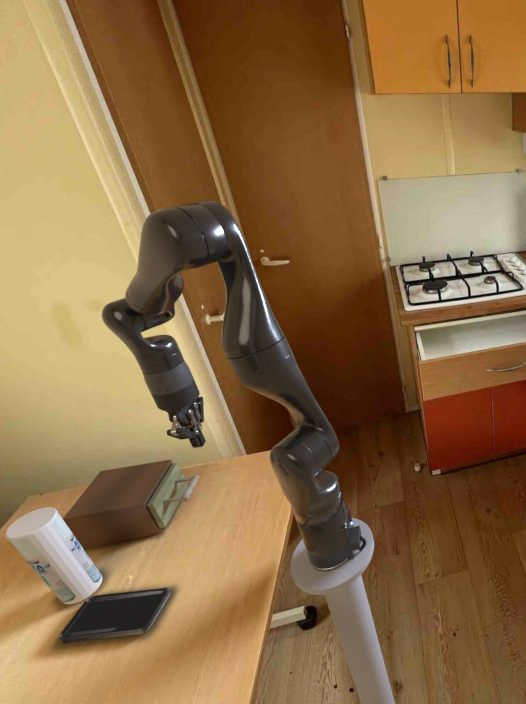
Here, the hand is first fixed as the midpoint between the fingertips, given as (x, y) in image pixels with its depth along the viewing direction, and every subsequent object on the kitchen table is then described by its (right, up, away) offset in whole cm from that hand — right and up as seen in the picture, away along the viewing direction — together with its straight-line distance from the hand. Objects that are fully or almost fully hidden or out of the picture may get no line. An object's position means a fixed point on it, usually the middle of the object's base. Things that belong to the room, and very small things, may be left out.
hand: (199, 445), depth 97 cm
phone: (-3, -28, -16) cm, 33 cm away
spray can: (-15, -26, -12) cm, 32 cm away
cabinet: (-17, -18, +3) cm, 25 cm away
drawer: (-13, -17, +4) cm, 21 cm away
